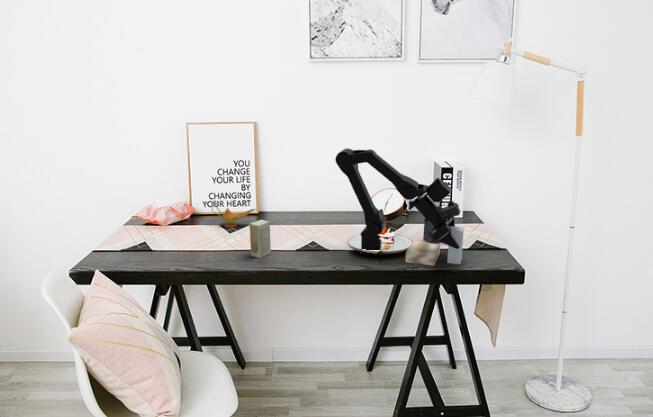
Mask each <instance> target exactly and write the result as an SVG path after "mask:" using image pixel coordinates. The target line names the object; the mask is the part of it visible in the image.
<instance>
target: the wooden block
mask: <svg viewBox="0 0 653 417" xmlns="http://www.w3.org/2000/svg"><path fill="white" fill-rule="evenodd" d="M440 254H441V244H438V243H434V244H432V243H429V242H424V241H423V242H421V241H415V240H414V241H412V242H411V243H410V245H409V247H408V248H407V250H406V252H405V263H408V264H409V263H411V264H418V265H419V264H420V265H426V266H433V267H435V266H436V263H437V260H438V259H439V257H440Z"/></svg>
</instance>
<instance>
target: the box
mask: <svg viewBox="0 0 653 417" xmlns="http://www.w3.org/2000/svg"><path fill="white" fill-rule="evenodd" d="M423 220H424V219H423ZM432 228H433V226H432V225H431V224H430V223H429V222H428V221H427V222H426V221H425V220H424V221H423V236H422V238H423V239H422V240H423V241H425V242H426V243H432V244H438V242H437V241H436V242H435V240H434V239H433V238H432V233H433V231H434V230H433V229H432Z"/></svg>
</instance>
